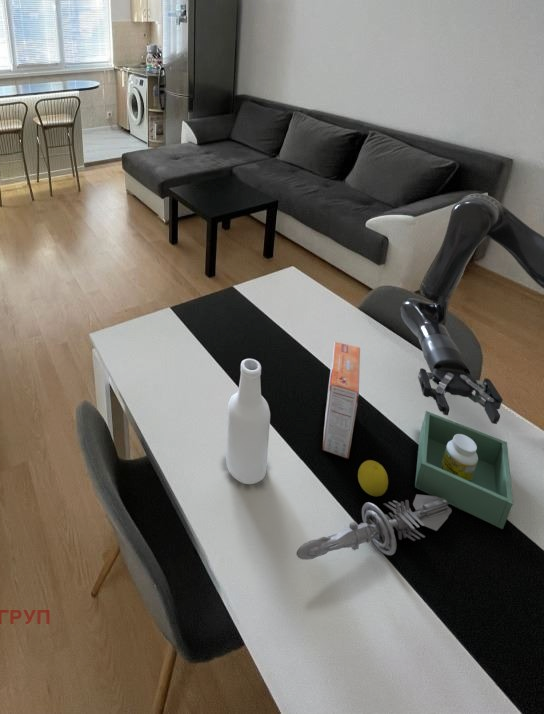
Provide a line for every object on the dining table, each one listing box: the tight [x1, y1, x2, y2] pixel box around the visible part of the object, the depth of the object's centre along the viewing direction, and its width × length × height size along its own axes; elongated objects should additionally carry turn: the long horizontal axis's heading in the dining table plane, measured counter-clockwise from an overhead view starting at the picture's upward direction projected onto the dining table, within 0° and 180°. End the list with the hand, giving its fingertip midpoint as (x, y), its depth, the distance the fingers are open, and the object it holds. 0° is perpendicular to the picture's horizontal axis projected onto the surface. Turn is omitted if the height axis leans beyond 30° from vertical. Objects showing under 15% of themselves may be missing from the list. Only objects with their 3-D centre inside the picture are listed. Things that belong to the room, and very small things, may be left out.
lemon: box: [357, 459, 389, 497], centre depth 89 cm, size 6×6×8 cm
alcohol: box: [225, 358, 271, 485], centre depth 91 cm, size 9×9×30 cm
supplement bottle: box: [441, 434, 478, 482], centre depth 90 cm, size 5×5×10 cm
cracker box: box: [322, 341, 361, 460], centre depth 99 cm, size 14×6×21 cm, turn 154°
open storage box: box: [414, 410, 514, 530], centre depth 90 cm, size 15×15×8 cm
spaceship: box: [295, 494, 453, 561], centre depth 80 cm, size 8×35×8 cm
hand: (471, 416), depth 87 cm, fingers open, 8 cm apart
